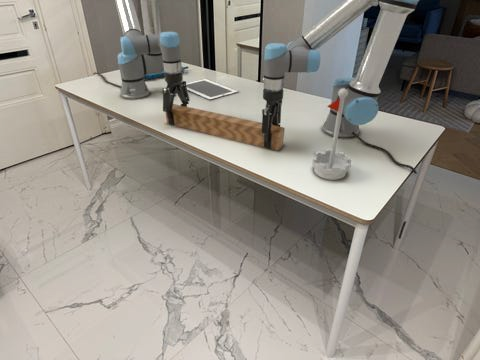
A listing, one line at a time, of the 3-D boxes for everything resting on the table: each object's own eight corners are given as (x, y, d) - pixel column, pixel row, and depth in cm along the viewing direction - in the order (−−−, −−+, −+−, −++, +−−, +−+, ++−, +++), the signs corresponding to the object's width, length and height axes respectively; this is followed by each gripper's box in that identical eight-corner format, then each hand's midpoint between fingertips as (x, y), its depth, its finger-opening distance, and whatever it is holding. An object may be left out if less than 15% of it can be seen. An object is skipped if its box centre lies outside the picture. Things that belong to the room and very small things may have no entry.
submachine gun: (173, 60, 241) (193, 66, 225) (174, 66, 243) (193, 71, 227) (128, 69, 223) (145, 75, 206) (129, 75, 225) (146, 82, 208)
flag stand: (334, 159, 128) (348, 80, 112) (356, 176, 118) (375, 92, 101) (304, 166, 124) (314, 84, 108) (324, 184, 114) (338, 97, 97)
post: (283, 145, 138) (284, 127, 134) (278, 151, 134) (279, 132, 130) (174, 119, 161) (172, 103, 156) (166, 123, 157) (164, 107, 152)
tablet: (177, 86, 203) (177, 85, 202) (205, 79, 214) (205, 78, 213) (209, 100, 182) (209, 99, 182) (238, 91, 193) (238, 91, 193)
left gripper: (181, 64, 153) (186, 111, 166) (148, 77, 137) (156, 128, 150) (195, 66, 150) (198, 114, 163) (163, 79, 134) (170, 131, 147)
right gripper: (274, 80, 133) (271, 134, 146) (252, 94, 120) (251, 152, 132) (292, 83, 130) (287, 137, 143) (272, 97, 117) (269, 156, 129)
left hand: (178, 121), depth 156 cm, fingers open, 9 cm apart
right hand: (270, 144), depth 138 cm, fingers closed on post, 5 cm apart
